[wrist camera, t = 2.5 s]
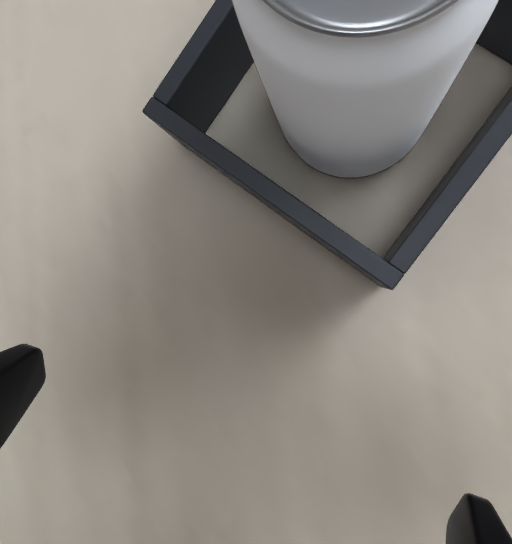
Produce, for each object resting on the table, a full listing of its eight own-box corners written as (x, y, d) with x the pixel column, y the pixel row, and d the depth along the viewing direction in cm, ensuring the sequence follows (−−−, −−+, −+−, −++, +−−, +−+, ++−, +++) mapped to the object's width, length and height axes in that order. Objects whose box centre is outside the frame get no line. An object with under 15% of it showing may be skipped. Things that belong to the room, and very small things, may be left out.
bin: (381, 287, 21) (392, 290, 16) (180, 143, 22) (141, 111, 18) (549, 66, 19) (610, 4, 15) (324, -68, 21) (320, -159, 17)
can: (254, 86, 22) (151, -141, 10) (381, 5, 21) (436, -355, 9) (324, 207, 21) (303, 121, 9) (458, 130, 20) (626, -77, 8)
